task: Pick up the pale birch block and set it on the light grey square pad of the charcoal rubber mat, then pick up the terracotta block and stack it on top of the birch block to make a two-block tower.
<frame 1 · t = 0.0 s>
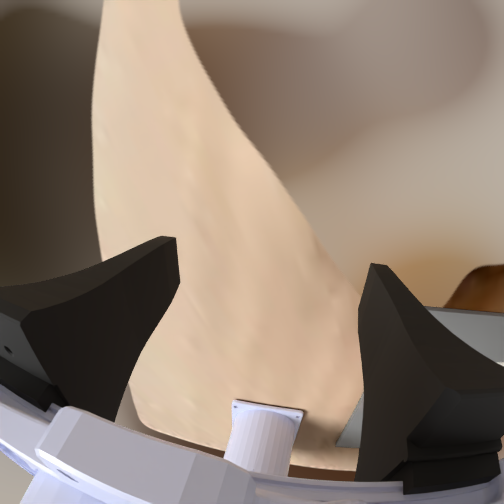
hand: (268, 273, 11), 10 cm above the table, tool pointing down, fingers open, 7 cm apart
build mat: (437, 396, 27), on the table
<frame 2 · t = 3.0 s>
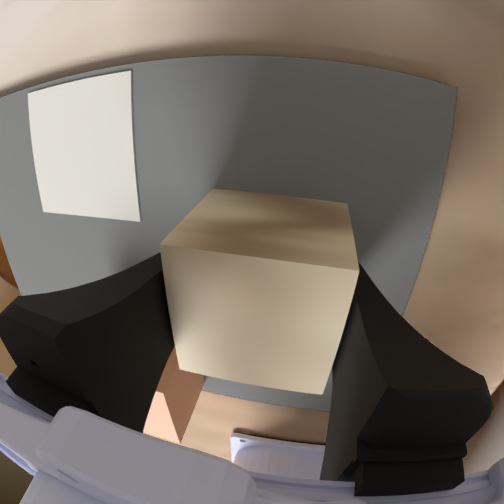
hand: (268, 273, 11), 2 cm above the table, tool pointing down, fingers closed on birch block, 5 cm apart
build mat: (148, 259, 15), on the table
terracotta block: (160, 346, 17), resting on build mat
birch block: (274, 254, 13), resting on build mat, touching gripper
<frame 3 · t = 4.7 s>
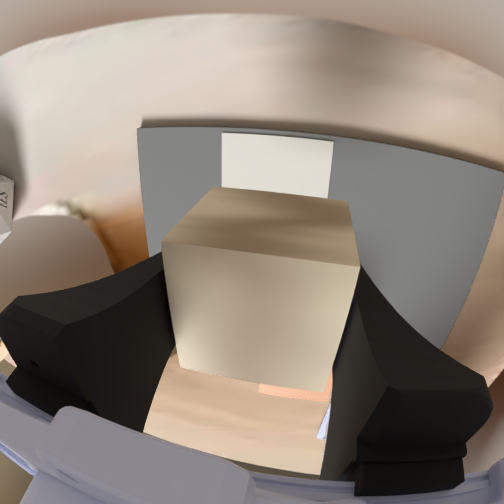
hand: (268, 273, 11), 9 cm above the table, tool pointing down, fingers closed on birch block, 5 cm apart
build mat: (313, 268, 21), on the table
terracotta block: (303, 332, 24), resting on build mat
birch block: (275, 252, 13), point 8 cm above the table, touching gripper
die: (6, 195, 25), on the table
beer glass: (5, 332, 39), on the table
when the fingers open (3 cm above the table, at t = 6.4 s): birch block drops 1 cm, resting on build mat.
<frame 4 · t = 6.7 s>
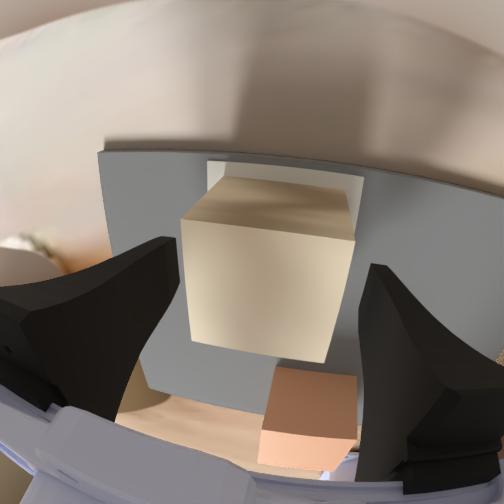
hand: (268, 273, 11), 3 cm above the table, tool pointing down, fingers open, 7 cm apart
build mat: (326, 330, 17), on the table
terracotta block: (309, 394, 19), resting on build mat
birch block: (278, 237, 14), point 1 cm above the table, touching build mat
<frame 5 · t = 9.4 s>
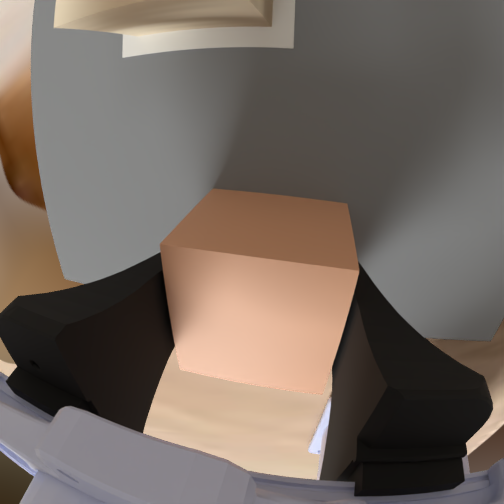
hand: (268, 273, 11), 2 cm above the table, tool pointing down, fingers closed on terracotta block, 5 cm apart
build mat: (285, 111, 10), on the table
terracotta block: (274, 254, 13), resting on build mat, touching gripper
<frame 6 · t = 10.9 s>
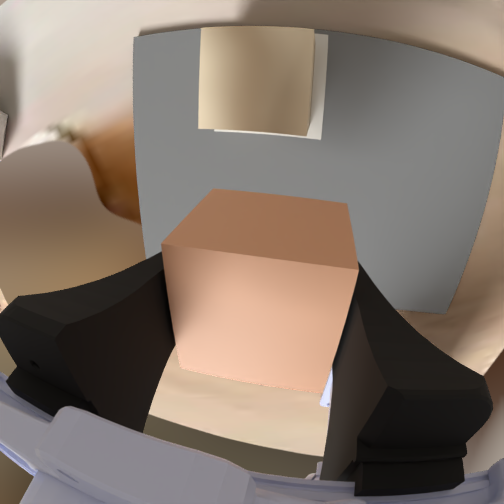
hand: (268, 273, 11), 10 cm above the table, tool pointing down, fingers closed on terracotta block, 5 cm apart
build mat: (314, 174, 19), on the table
terracotta block: (274, 254, 13), point 8 cm above the table, touching gripper
birch block: (268, 80, 16), point 1 cm above the table, touching build mat
when the fingers open (8 cm above the table, at t = 12.3 s): terracotta block drops 1 cm, resting on birch block.
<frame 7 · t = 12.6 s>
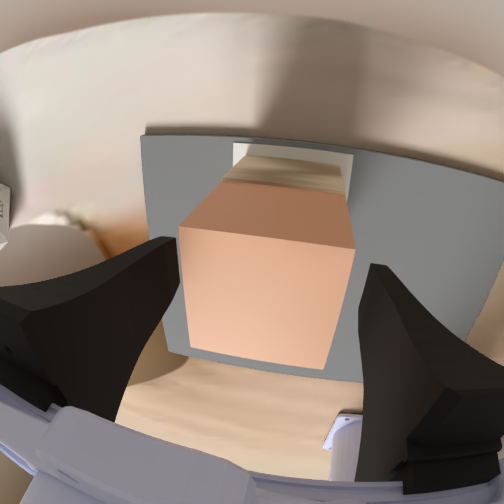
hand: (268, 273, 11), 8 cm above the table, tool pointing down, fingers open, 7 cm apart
build mat: (327, 285, 20), on the table
terracotta block: (278, 242, 14), point 5 cm above the table, touching birch block
birch block: (288, 202, 18), point 1 cm above the table, touching build mat, terracotta block
die: (2, 202, 23), on the table
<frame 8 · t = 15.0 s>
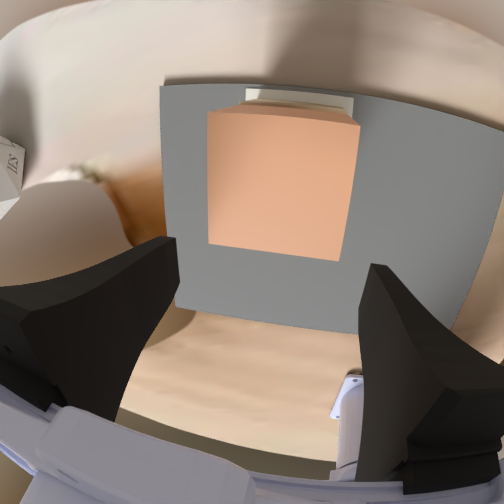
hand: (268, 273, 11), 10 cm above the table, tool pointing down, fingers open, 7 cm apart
build mat: (333, 226, 21), on the table
terracotta block: (289, 159, 15), point 5 cm above the table, touching birch block
birch block: (296, 141, 18), point 1 cm above the table, touching build mat, terracotta block
die: (15, 164, 24), on the table
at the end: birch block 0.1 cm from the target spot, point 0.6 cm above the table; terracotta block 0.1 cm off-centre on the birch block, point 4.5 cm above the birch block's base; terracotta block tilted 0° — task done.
